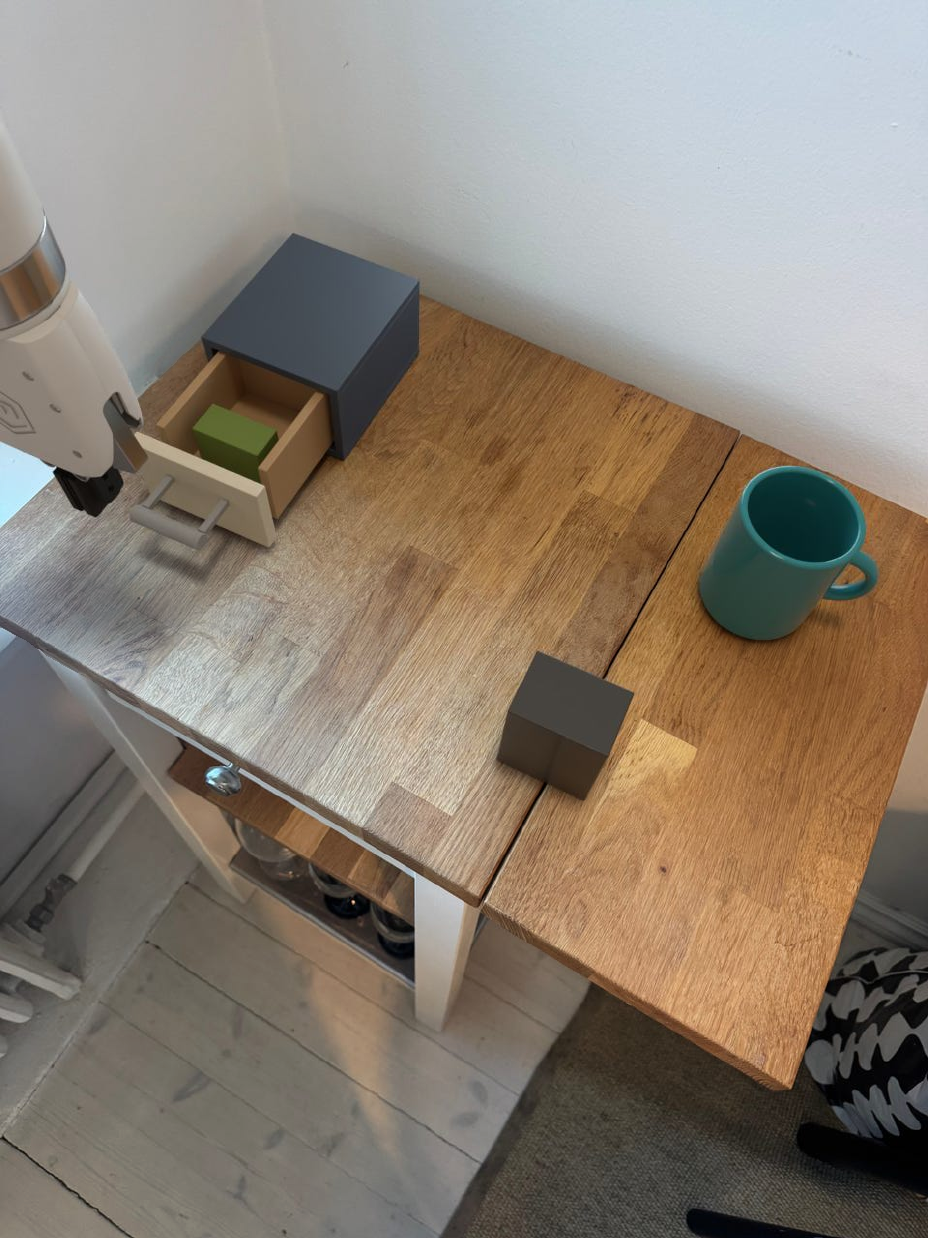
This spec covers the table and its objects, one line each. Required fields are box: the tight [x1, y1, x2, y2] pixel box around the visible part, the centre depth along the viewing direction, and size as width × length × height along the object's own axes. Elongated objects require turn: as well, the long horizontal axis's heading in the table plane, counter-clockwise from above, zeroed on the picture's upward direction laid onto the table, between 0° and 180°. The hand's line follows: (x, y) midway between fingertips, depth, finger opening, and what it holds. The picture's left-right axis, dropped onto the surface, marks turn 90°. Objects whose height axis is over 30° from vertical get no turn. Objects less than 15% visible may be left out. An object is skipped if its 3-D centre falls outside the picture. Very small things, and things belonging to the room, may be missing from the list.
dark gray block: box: [496, 650, 635, 801], centre depth 62 cm, size 7×5×9 cm
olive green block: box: [192, 404, 279, 485], centre depth 73 cm, size 6×3×4 cm, turn 65°
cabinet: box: [200, 232, 421, 461], centre depth 79 cm, size 15×13×9 cm
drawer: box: [128, 351, 334, 552], centre depth 72 cm, size 18×11×7 cm, turn 155°
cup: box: [698, 465, 880, 641], centre depth 68 cm, size 9×12×11 cm
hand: (100, 496), depth 58 cm, fingers closed
